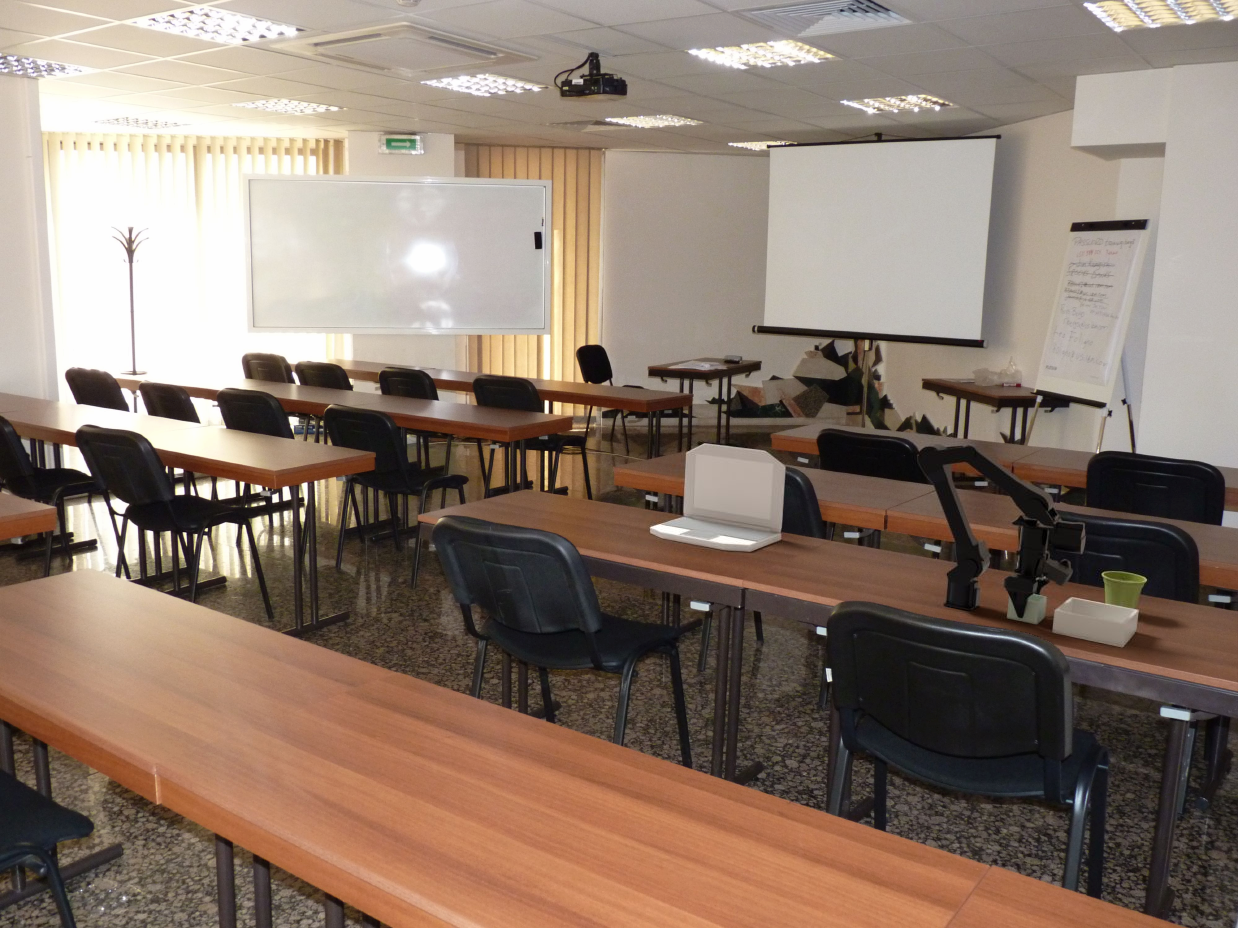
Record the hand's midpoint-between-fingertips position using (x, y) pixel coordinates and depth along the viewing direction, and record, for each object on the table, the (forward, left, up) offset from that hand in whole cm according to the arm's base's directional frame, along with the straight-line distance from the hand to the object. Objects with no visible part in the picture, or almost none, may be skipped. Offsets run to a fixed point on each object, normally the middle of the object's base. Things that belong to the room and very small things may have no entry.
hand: (1026, 613), depth 227 cm
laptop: (-95, +16, -2) cm, 96 cm away
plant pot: (+15, +21, -1) cm, 26 cm away
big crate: (+14, 0, -1) cm, 15 cm away
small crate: (0, 0, -1) cm, 1 cm away
